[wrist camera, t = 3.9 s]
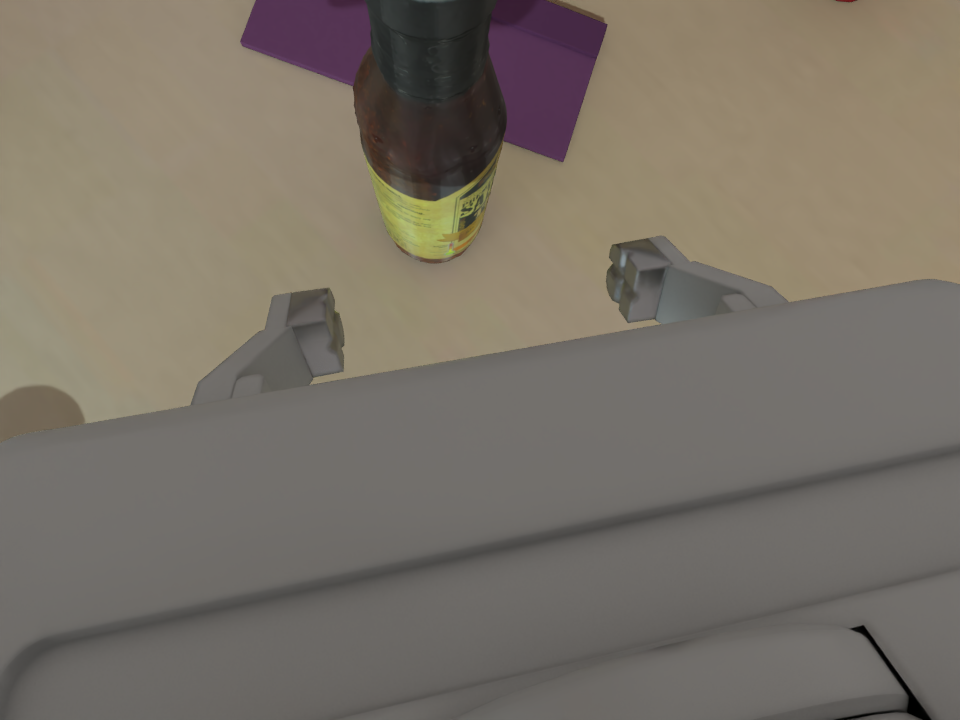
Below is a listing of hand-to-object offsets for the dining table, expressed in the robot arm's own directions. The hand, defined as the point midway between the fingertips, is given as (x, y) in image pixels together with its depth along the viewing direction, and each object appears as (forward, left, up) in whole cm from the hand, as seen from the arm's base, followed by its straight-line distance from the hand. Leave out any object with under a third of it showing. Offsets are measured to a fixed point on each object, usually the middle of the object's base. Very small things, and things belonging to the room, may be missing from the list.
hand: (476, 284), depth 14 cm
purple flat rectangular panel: (-8, +19, -17) cm, 27 cm away
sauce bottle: (-4, +7, -18) cm, 19 cm away
